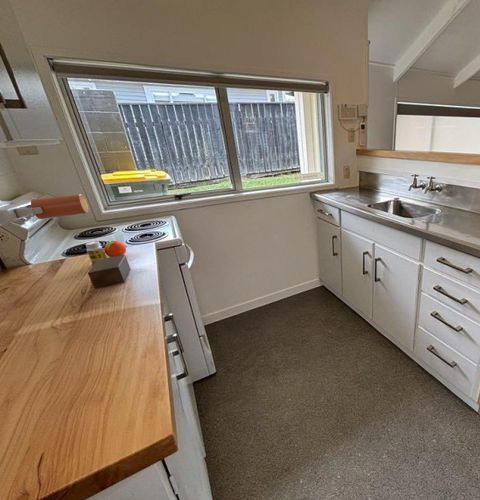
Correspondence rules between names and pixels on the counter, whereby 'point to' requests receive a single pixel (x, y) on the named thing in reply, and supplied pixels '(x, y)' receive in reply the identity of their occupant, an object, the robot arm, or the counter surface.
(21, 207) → the robot arm
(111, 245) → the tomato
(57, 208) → the cup
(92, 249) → the supplement bottle
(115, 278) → the walnut block
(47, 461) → the counter surface
